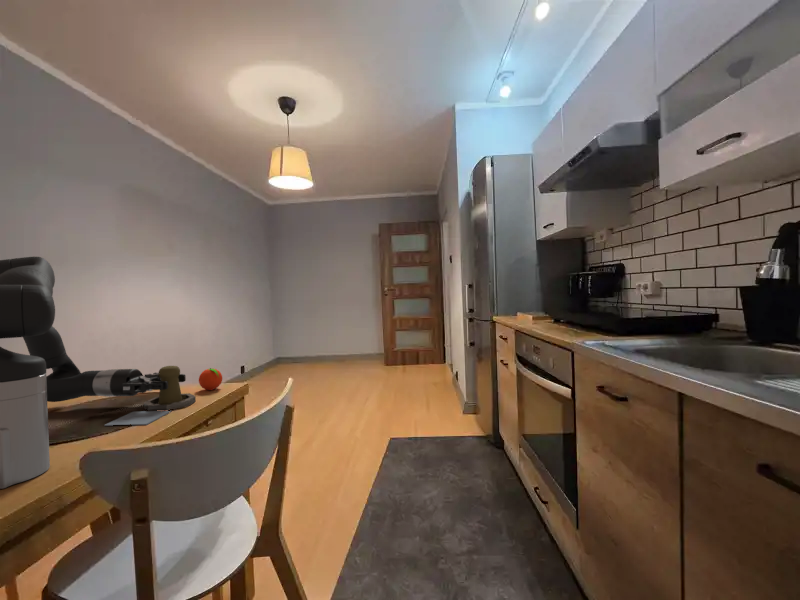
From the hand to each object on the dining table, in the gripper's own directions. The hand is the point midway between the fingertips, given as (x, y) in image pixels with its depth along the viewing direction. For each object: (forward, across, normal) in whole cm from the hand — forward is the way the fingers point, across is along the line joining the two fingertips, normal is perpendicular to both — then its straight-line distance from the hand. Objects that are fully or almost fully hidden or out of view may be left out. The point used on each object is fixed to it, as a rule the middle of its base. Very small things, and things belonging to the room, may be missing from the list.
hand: (176, 381), depth 106 cm
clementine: (+2, +16, +7) cm, 18 cm away
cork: (-2, 0, +7) cm, 7 cm away
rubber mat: (-3, -12, +7) cm, 14 cm away
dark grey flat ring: (-2, 0, +7) cm, 7 cm away
